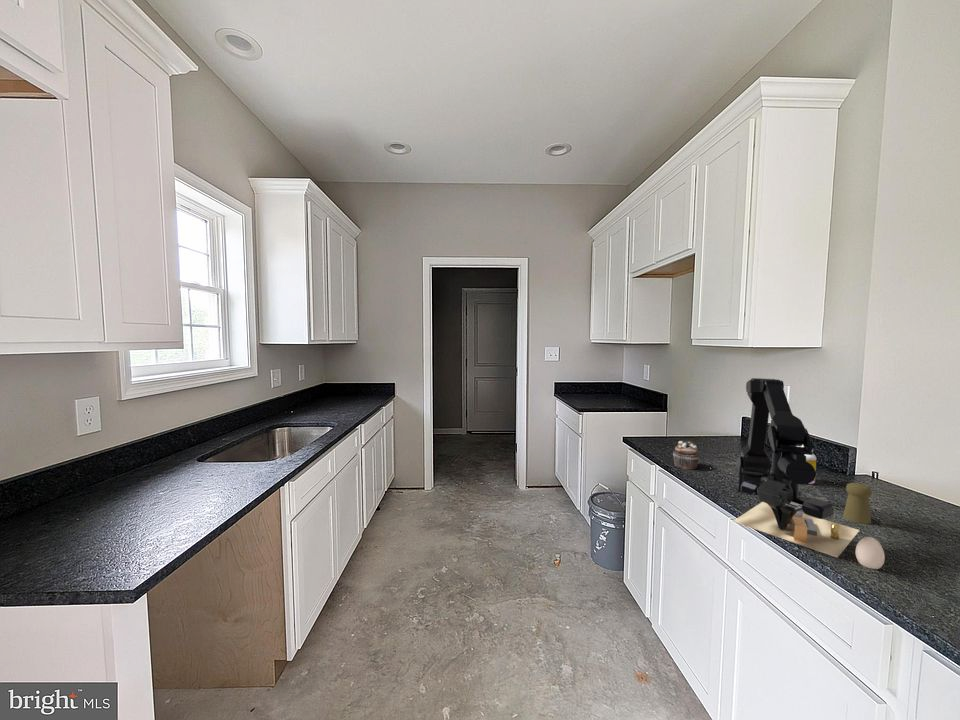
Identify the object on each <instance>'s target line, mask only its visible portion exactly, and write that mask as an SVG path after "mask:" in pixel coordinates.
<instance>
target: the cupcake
mask: <svg viewBox="0 0 960 720" xmlns="http://www.w3.org/2000/svg"><path fill="white" fill-rule="evenodd" d="M672 455H673V461H674V466H675V467H677V468H680V469H685V470H696V469H697V468H698V465H699V464H698V463H699V461H700V458H701V456H700V452H699V451H698V447H697V445H696V444H695V443H694V442H693V441H692V440H682V439H681V440H680V441H678V444H677V445H676V446H675V447H674V450H673V452H672Z"/></svg>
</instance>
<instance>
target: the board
mask: <svg viewBox="0 0 960 720" xmlns="http://www.w3.org/2000/svg"><path fill="white" fill-rule="evenodd" d="M794 516H795V517H800V518H802V517H803V518H808V519H812V520H813V522H814V525H815V527H816V530H817V536H814V535H809V534H807V540H806V543H803V542H799V541H794V539H793V535H792V531H791V530H787V529H784V530H781V529H779V528H778V525H777V521H776V518H775V515H774V513H773V511H772V509H771V507H770V506H769V505H768V504H767V503H764V502H761V501H760V503H758V504H756V505H754V507H752V508H751V509H749V510H748V511H746V512H744V513H743V514H741V515H740V516H738V517H737V518H736V519H733V520H732V522H734V523H736V524H740V525H742V526H745V527H748V528H751V529H754V530H756V531H760V532H763V533H764V534H768V535H771V536H774V537H777V538H779V539H783V540H786V541H788V542H790V543H794V544H797V545H799V546H803V547H804V548H805V547H806V548H808V549H811V550H813V551H817V552H820V553H822V554H826V555H827V556H832V557H834V558H839V557H840V555H841V554H842V553H843V552H844V550H845V549H846V548H847V546H849V544H850V543H851V542H852V541H853V539H854V538H855V537H856V535H858V533H859V532H860V529H857V528H854V527H851V526H847V525H843V524H840V523H837V522H834V521H830V520H826V519H825V518H824V519H818V518H815V517H812V516H809V515H807V514H805V513H804V512H803V510H800V511H797V512H796V513H795V515H794ZM832 523H834V524H838V525H839V526H840V528H839V540H835V539H832V538H830V534H831V524H832ZM789 524H792V519H791V520H790V522H789Z"/></svg>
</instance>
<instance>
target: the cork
mask: <svg viewBox="0 0 960 720" xmlns="http://www.w3.org/2000/svg"><path fill="white" fill-rule="evenodd" d="M845 491H846V493H847V498H846V502H845V507H844V510H843V513H842V518H844V519H846V520H847V521H850V522H853V523H856V524H863V525H871V524H872V518H871V509H870V502H869V501H870V500H869V499H870V498H871V496H872V494H873V492H872V489H871V488H870V486H868V485H866V484H862V483H857V482H850V483H849V482H848V484H846V486H845Z"/></svg>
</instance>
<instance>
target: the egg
mask: <svg viewBox="0 0 960 720" xmlns="http://www.w3.org/2000/svg"><path fill="white" fill-rule="evenodd" d="M855 546H856V547H855V557H856V559H857V561H858V563H859V564H860V565H861V566H863V567H865V568H868V569H872V570H879V569H881V568H882V566H884V563H885V559H886V558H885V557H886V555H885V551H884V549H883V547H882V544H881V543H880V542H879V541H878V540H877V539H876V538H874V537H872V536H865V537H863V538H861V539H859V540H858V543H857V544H856V545H855Z"/></svg>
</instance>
